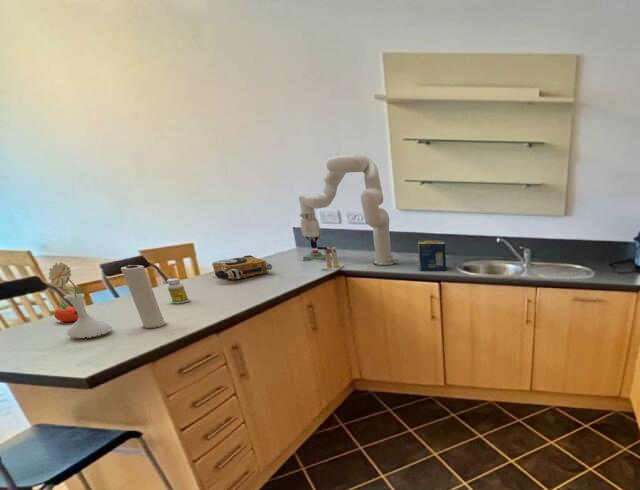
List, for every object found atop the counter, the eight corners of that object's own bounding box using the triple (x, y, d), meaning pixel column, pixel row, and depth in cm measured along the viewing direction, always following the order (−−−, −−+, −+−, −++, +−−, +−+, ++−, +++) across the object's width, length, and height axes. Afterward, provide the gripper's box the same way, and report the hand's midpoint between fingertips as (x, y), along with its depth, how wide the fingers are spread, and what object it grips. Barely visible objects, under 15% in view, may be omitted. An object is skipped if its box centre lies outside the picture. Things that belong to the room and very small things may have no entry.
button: (319, 252, 261) (319, 250, 260) (317, 254, 258) (316, 251, 257) (314, 252, 261) (313, 249, 260) (311, 253, 258) (311, 250, 257)
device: (278, 258, 221) (221, 268, 197) (282, 274, 225) (226, 285, 201) (252, 253, 230) (194, 262, 207) (256, 268, 234) (199, 278, 210)
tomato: (82, 316, 158) (74, 299, 155) (86, 321, 153) (78, 304, 150) (56, 320, 153) (47, 303, 150) (59, 325, 148) (51, 308, 145)
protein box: (419, 267, 251) (417, 240, 244) (444, 266, 255) (443, 240, 248) (420, 271, 242) (418, 243, 235) (446, 270, 246) (445, 243, 239)
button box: (329, 258, 265) (328, 251, 264) (322, 261, 257) (321, 254, 255) (310, 257, 265) (309, 250, 264) (303, 260, 257) (302, 253, 255)
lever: (326, 250, 225) (326, 245, 224) (317, 250, 225) (316, 245, 224) (335, 253, 237) (335, 249, 236) (327, 253, 237) (326, 249, 236)
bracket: (336, 271, 235) (333, 249, 230) (322, 270, 235) (318, 249, 230) (343, 267, 244) (340, 246, 239) (329, 266, 244) (326, 246, 239)
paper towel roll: (161, 327, 150) (138, 268, 140) (141, 329, 148) (116, 268, 138) (169, 321, 156) (148, 263, 146) (150, 322, 154) (127, 264, 144)
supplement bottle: (189, 299, 180) (182, 277, 176) (187, 303, 176) (179, 280, 171) (174, 300, 178) (166, 278, 174) (171, 304, 174) (163, 281, 169)
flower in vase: (64, 336, 140) (26, 260, 129) (107, 327, 149) (76, 255, 137) (77, 345, 134) (38, 267, 123) (121, 335, 143) (89, 261, 131)
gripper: (293, 216, 246) (299, 248, 254) (318, 217, 246) (323, 249, 255) (299, 215, 252) (305, 246, 261) (323, 216, 253) (328, 247, 261)
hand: (314, 247), depth 258 cm, fingers closed
